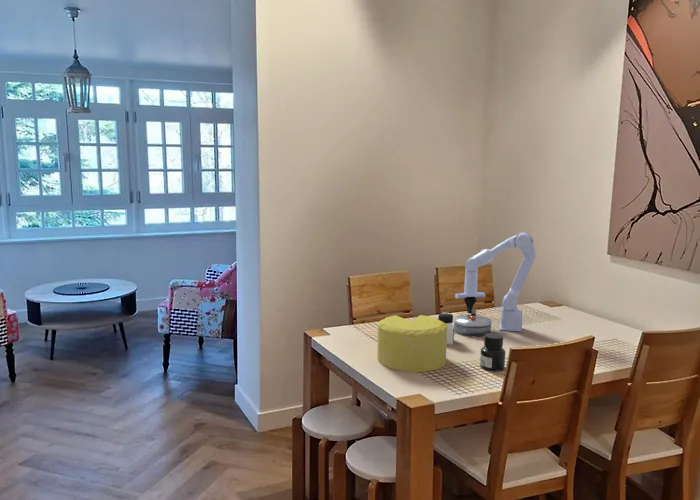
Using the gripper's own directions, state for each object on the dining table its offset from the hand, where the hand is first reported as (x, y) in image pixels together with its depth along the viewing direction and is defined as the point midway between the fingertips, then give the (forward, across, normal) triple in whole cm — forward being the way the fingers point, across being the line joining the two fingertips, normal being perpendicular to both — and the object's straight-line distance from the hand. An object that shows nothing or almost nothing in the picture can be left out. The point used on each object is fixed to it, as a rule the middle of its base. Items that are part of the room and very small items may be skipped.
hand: (469, 312), depth 277 cm
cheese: (+6, +45, +38) cm, 59 cm away
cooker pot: (+6, +3, +8) cm, 11 cm away
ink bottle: (+6, +20, +53) cm, 57 cm away
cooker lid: (+1, +2, +8) cm, 8 cm away
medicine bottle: (+6, +22, +20) cm, 31 cm away
